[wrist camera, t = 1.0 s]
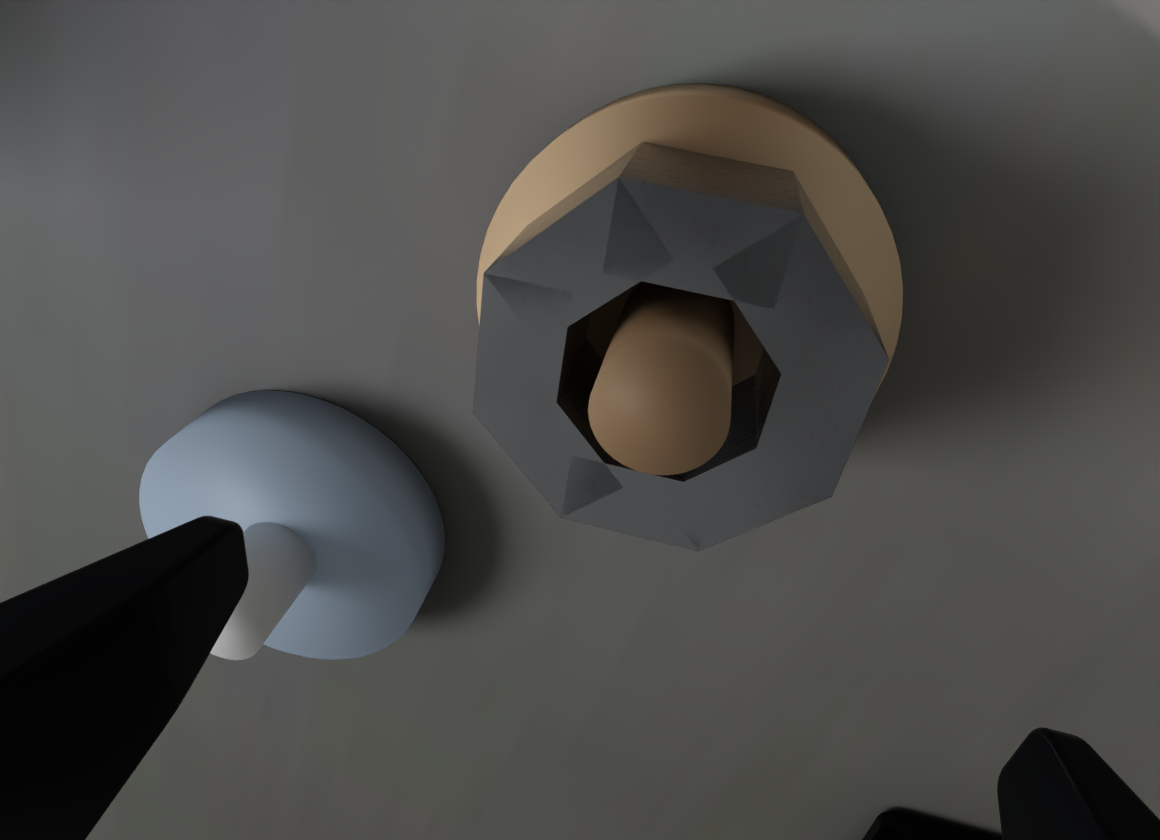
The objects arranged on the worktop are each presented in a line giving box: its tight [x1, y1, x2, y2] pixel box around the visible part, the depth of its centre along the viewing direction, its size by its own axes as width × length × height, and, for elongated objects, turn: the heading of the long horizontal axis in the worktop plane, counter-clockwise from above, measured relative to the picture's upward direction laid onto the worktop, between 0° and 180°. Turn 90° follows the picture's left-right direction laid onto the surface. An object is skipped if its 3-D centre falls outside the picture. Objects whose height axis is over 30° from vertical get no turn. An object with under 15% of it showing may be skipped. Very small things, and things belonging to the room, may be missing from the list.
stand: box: [477, 84, 903, 475], centre depth 15 cm, size 9×9×6 cm
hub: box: [139, 390, 445, 660], centre depth 21 cm, size 9×9×5 cm
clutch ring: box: [473, 142, 889, 551], centre depth 14 cm, size 7×7×3 cm
